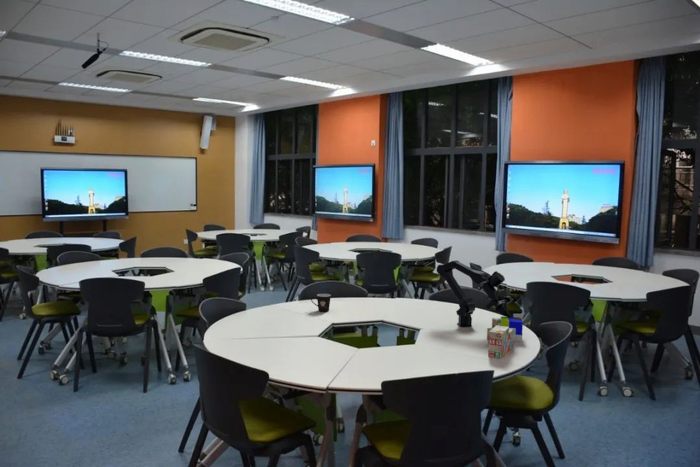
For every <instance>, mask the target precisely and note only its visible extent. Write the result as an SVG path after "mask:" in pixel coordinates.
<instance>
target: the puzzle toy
mask: <svg viewBox="0 0 700 467" xmlns="http://www.w3.org/2000/svg"><path fill="white" fill-rule="evenodd" d="M500 318H501V326H505V327H509V328H511V329H513V342H523V330H524V329H523V325H524V323H523V322H524V321H523V319H522V318H521V317H517V316H516V317H515V316H509V317H507V316H504V315H503V316H500Z"/></svg>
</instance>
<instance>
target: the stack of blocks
mask: <svg viewBox="0 0 700 467" xmlns="http://www.w3.org/2000/svg"><path fill="white" fill-rule="evenodd" d="M513 347H514V341H513V329H511V328H509V327H505V326H498V325H496V326H495V327H494V328H493V329H492V330H490V331H489V341H488V352H487V354H488V356H487V357H489V358H492V359H493V358H494V359H495V358H496V359H499V360H500V359H501V360H502V359H503V358H505V356H506V355H507V354H508V353H509V351H511V350H512V349H513Z"/></svg>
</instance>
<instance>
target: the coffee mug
mask: <svg viewBox="0 0 700 467" xmlns="http://www.w3.org/2000/svg"><path fill="white" fill-rule="evenodd" d="M331 297H332V295H331V294H329V293H318V294H316V296H312V297H310V298H311V299H310V301H311V302H312V304H313V305H315V306H316V307H317V308H318V312H319V313H328V312H329V311H330V305H331ZM313 299H316V301H317V304H316V303H315V302H314V301H313Z"/></svg>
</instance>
